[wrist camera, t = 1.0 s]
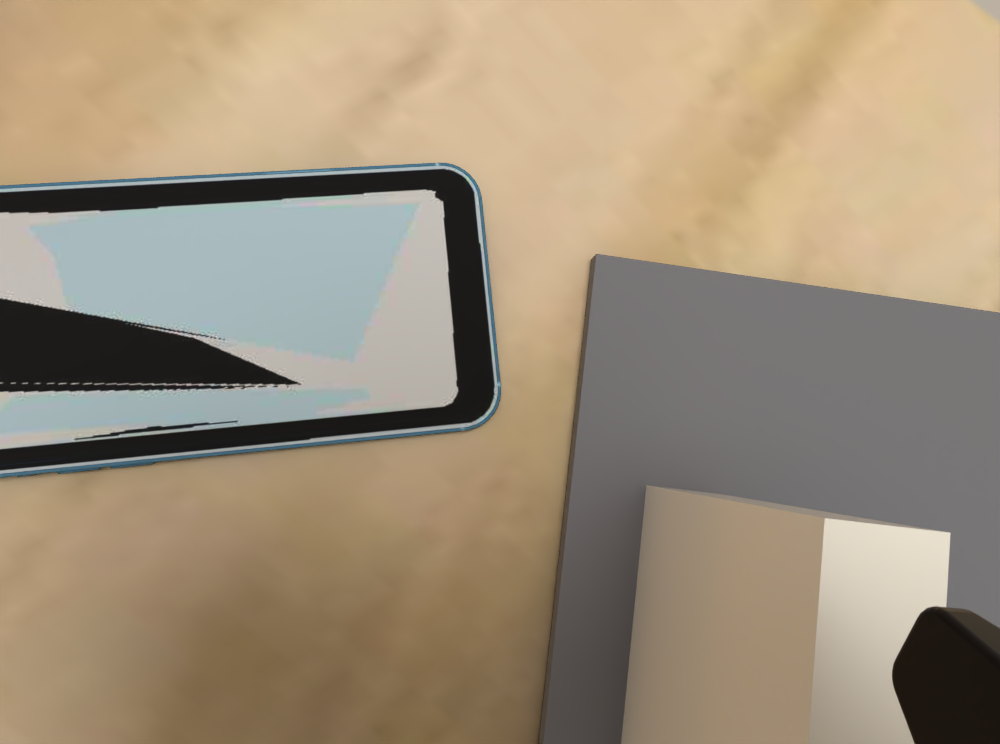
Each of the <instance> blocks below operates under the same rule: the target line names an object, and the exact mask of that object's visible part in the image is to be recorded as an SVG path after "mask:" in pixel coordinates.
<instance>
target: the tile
mask: <svg viewBox="0 0 1000 744" xmlns="http://www.w3.org/2000/svg"><path fill="white" fill-rule="evenodd" d="M949 550H950V533H949V532H943V531H937V530H931V529H925V528H919V527H913V526H908V525H902V524H896V523H890V522H884V521H878V520H872V519H866V518H860V517H854V516H848V515H842V514H836V513H830V512H824V511H818V510H812V509H806V508H800V507H795V506H789V505H783V504H777V503H771V502H765V501H759V500H753V499H747V498H741V497H735V496H729V495H723V494H716V493H708V492H699V491H691V490H682V489H674V488H666V487H657V486H649V485H646V494H645V504H644V515H643V525H642V535H641V545H640V555H639V566H638V576H637V586H636V596H635V606H634V617H633V627H632V637H631V647H630V657H629V668H628V678H627V688H626V698H625V708H624V718H623V729H622V739H621V744H914V741H913V738H912V736H911V733H910V730H909V728H908V725H907V722H906V720H905V717H904V714H903V712H902V709H901V706H900V704H899V701H898V698H897V696H896V693H895V690H894V687H893V682H892V668H893V664H894V661H895V659H896V657H897V655H898V653H899V651H900V649H901V648H902V646H903V644H904V642H905V640H906V638H907V636H908V634H909V632H910V631H911V629H912V627H913V625H914V623H915V621H916V619H917V617H918V616H919V614H920V613H921V612H922V611H924V610H925V609H926V608H928V607H933V606H939V607H946V603H947V586H948V568H949Z"/></svg>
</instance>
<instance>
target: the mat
mask: <svg viewBox="0 0 1000 744" xmlns="http://www.w3.org/2000/svg"><path fill="white" fill-rule="evenodd" d="M646 485H649V486H657V487H666V488H674V489H682V490H691V491H699V492H708V493H716V494H723V495H729V496H735V497H741V498H747V499H753V500H759V501H765V502H771V503H777V504H783V505H789V506H795V507H800V508H806V509H812V510H818V511H824V512H830V513H836V514H842V515H848V516H854V517H860V518H866V519H872V520H878V521H884V522H890V523H896V524H902V525H908V526H913V527H919V528H925V529H931V530H937V531H943V532H949V533H950V550H949V568H948V586H947V603H946V607H951V608H961V609H966V610H969V611H972V612H974V613H976V614H978V615H979V616H981V617H982V618H984V619H986V620H987V621H989V622H991V623H992V624H994V625H996V626H997V627H999V628H1000V313H998V312H991V311H984V310H977V309H970V308H963V307H956V306H950V305H943V304H936V303H929V302H922V301H915V300H909V299H902V298H895V297H888V296H881V295H874V294H867V293H861V292H854V291H847V290H840V289H833V288H826V287H819V286H813V285H806V284H799V283H792V282H785V281H778V280H771V279H765V278H758V277H751V276H744V275H737V274H730V273H724V272H717V271H710V270H703V269H696V268H689V267H682V266H676V265H669V264H662V263H655V262H648V261H641V260H634V259H628V258H621V257H614V256H607V255H600V254H596V255H595V256H594V257H593V258H592V259H591V268H590V277H589V287H588V296H587V305H586V314H585V323H584V332H583V342H582V351H581V360H580V369H579V378H578V388H577V397H576V406H575V415H574V424H573V434H572V443H571V452H570V461H569V470H568V479H567V489H566V498H565V507H564V516H563V525H562V535H561V544H560V553H559V562H558V571H557V581H556V590H555V599H554V608H553V617H552V626H551V636H550V645H549V654H548V663H547V672H546V682H545V691H544V700H543V709H542V718H541V727H540V737H539V744H621V739H622V729H623V718H624V708H625V698H626V688H627V678H628V668H629V657H630V647H631V637H632V627H633V617H634V606H635V596H636V586H637V576H638V566H639V555H640V545H641V535H642V525H643V515H644V504H645V494H646Z"/></svg>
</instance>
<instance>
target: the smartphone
mask: <svg viewBox="0 0 1000 744" xmlns="http://www.w3.org/2000/svg"><path fill="white" fill-rule="evenodd" d="M500 396H501V383H500V373H499V363H498V354H497V344H496V334H495V324H494V314H493V304H492V294H491V284H490V275H489V265H488V255H487V245H486V235H485V225H484V215H483V206H482V197H481V192H480V190H479V187H478V185H477V183H476V182H475V180H474V179H473V178H472V176H471V175H470V174H468V173H467V172H466V171H465V170H463V169H462V168H460V167H458V166H455V165H453V164H448V163H425V164H406V165H387V166H367V167H348V168H329V169H310V170H291V171H271V172H252V173H233V174H214V175H195V176H175V177H156V178H137V179H118V180H98V181H79V182H60V183H41V184H22V185H2V186H0V477H10V476H18V477H20V476H30V475H36V474H40V473H50V472H57V473H58V474H60V473H70V472H80V471H89V470H99V469H101V467H109V466H111V468H119V467H129V466H139V465H149V464H154V462H159V461H169V460H179V459H189V458H199V457H208V456H218V455H228V454H238V453H248V452H258V451H268V450H278V449H288V448H298V447H308V446H318V445H327V444H337V443H347V442H357V441H367V440H377V439H387V438H397V437H407V436H416V435H426V434H436V433H446V432H456V431H465V430H470V429H474V428H476V427H479V426H480V425H482V424H484V423H485V422H486V421H487V420H489V419H490V418H491V416H492V415H493V414H494V412H495V411H496V409H497V407H498V404H499V401H500ZM469 426H470V427H469ZM463 427H464V428H463ZM453 428H454V429H453ZM443 429H444V430H443ZM433 430H434V431H433ZM423 431H424V432H423ZM413 432H414V433H413ZM403 433H404V434H403ZM393 434H394V435H393ZM383 435H384V436H383Z"/></svg>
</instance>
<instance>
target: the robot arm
mask: <svg viewBox="0 0 1000 744" xmlns="http://www.w3.org/2000/svg"><path fill="white" fill-rule="evenodd" d="M892 682H893V687H894V690H895V693H896V696H897V698H898V701H899V704H900V706H901V709H902V712H903V714H904V717H905V720H906V722H907V725H908V728H909V730H910V733H911V736H912V738H913V741H914V744H1000V628H999V627H997V626H996V625H994V624H992V623H991V622H989V621H987V620H986V619H984V618H982V617H981V616H979V615H978V614H976V613H974V612H972V611H969V610H966V609H961V608H951V607H939V606H933V607H928V608H926V609H925V610H924V611H922V612H921V613H920V614H919V616H918V617H917V619H916V621H915V623H914V625H913V627H912V629H911V631H910V632H909V634H908V636H907V638H906V640H905V642H904V644H903V646H902V648H901V649H900V651H899V653H898V655H897V657H896V659H895V661H894V664H893V668H892Z"/></svg>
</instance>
